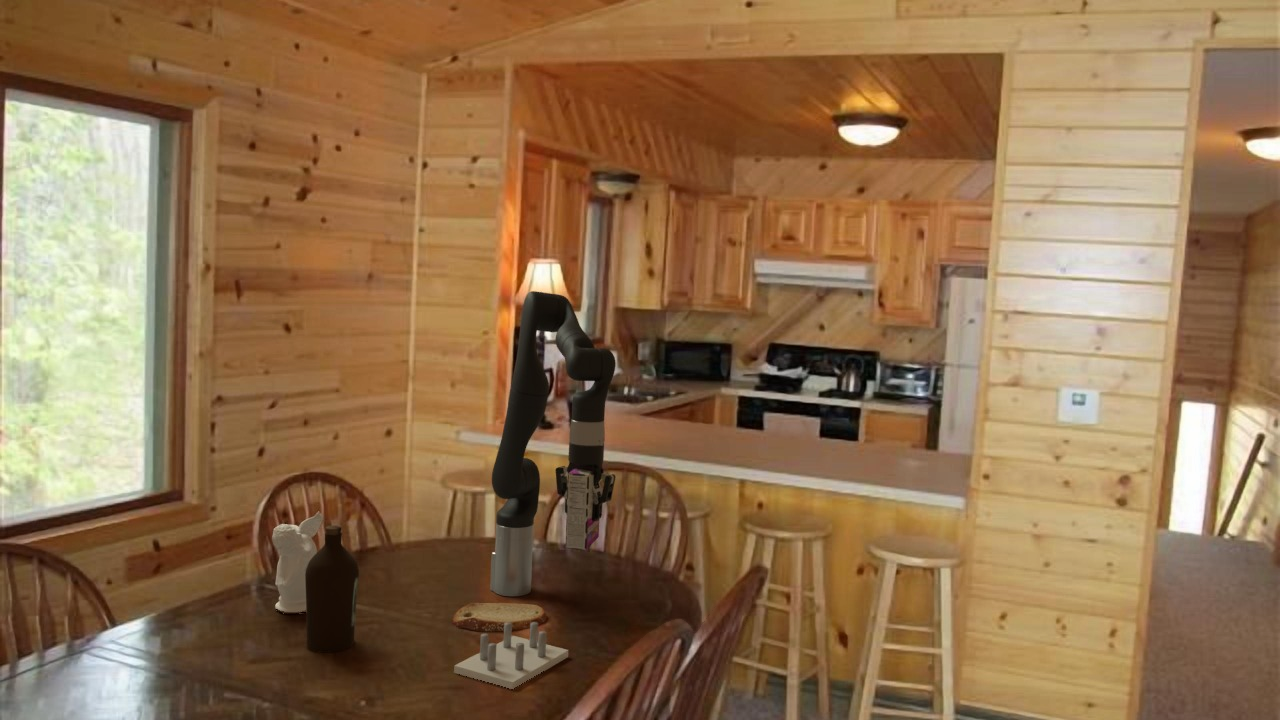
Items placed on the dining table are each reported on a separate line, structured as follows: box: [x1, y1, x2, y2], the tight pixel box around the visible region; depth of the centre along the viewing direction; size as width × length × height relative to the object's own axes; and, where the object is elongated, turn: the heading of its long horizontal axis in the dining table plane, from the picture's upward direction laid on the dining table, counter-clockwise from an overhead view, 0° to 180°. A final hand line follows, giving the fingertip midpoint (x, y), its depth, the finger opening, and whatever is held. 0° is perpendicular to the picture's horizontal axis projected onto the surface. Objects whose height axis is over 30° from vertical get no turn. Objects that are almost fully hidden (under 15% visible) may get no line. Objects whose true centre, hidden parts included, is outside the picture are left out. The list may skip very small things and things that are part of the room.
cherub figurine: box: [271, 510, 324, 612], centre depth 229 cm, size 12×12×22 cm
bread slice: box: [450, 602, 548, 632], centre depth 227 cm, size 18×18×4 cm
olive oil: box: [305, 524, 360, 653], centre depth 207 cm, size 11×11×25 cm
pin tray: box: [453, 622, 569, 690], centre depth 202 cm, size 14×20×6 cm
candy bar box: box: [565, 469, 602, 551], centre depth 214 cm, size 11×5×16 cm, turn 169°
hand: (583, 517), depth 215 cm, fingers closed on candy bar box, 5 cm apart
